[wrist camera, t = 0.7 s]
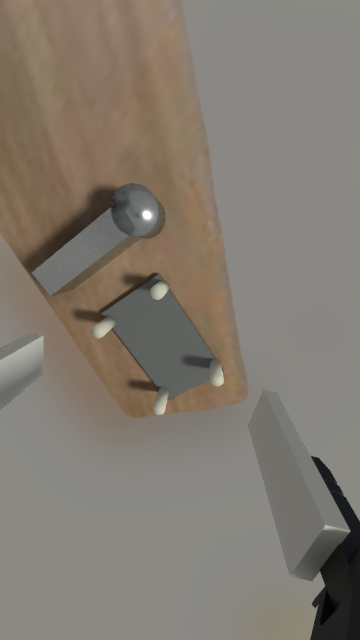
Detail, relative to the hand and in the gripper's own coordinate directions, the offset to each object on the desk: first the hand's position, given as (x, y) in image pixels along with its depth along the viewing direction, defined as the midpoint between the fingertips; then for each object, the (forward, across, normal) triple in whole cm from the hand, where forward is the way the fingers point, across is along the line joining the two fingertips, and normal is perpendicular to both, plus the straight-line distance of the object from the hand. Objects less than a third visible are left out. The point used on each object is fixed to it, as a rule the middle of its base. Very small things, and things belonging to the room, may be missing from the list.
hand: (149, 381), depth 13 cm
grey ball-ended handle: (+25, -13, +5) cm, 28 cm away
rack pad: (+25, -1, -9) cm, 26 cm away
